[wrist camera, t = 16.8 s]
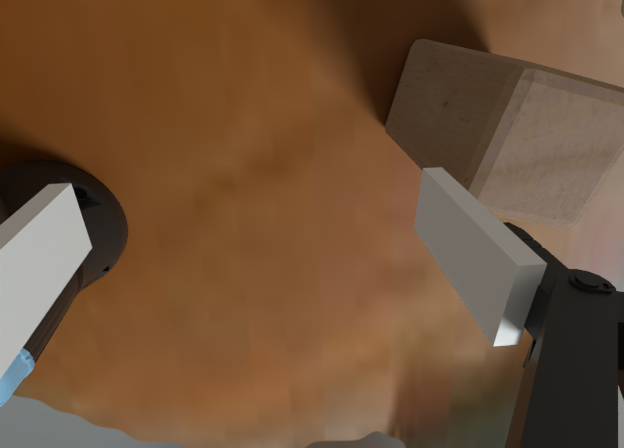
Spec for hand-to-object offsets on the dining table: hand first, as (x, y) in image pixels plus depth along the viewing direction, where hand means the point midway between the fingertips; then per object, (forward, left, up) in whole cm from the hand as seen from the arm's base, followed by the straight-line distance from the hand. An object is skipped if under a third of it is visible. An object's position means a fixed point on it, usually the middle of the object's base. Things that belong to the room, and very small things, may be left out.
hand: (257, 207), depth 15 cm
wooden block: (+19, -2, -29) cm, 35 cm away
